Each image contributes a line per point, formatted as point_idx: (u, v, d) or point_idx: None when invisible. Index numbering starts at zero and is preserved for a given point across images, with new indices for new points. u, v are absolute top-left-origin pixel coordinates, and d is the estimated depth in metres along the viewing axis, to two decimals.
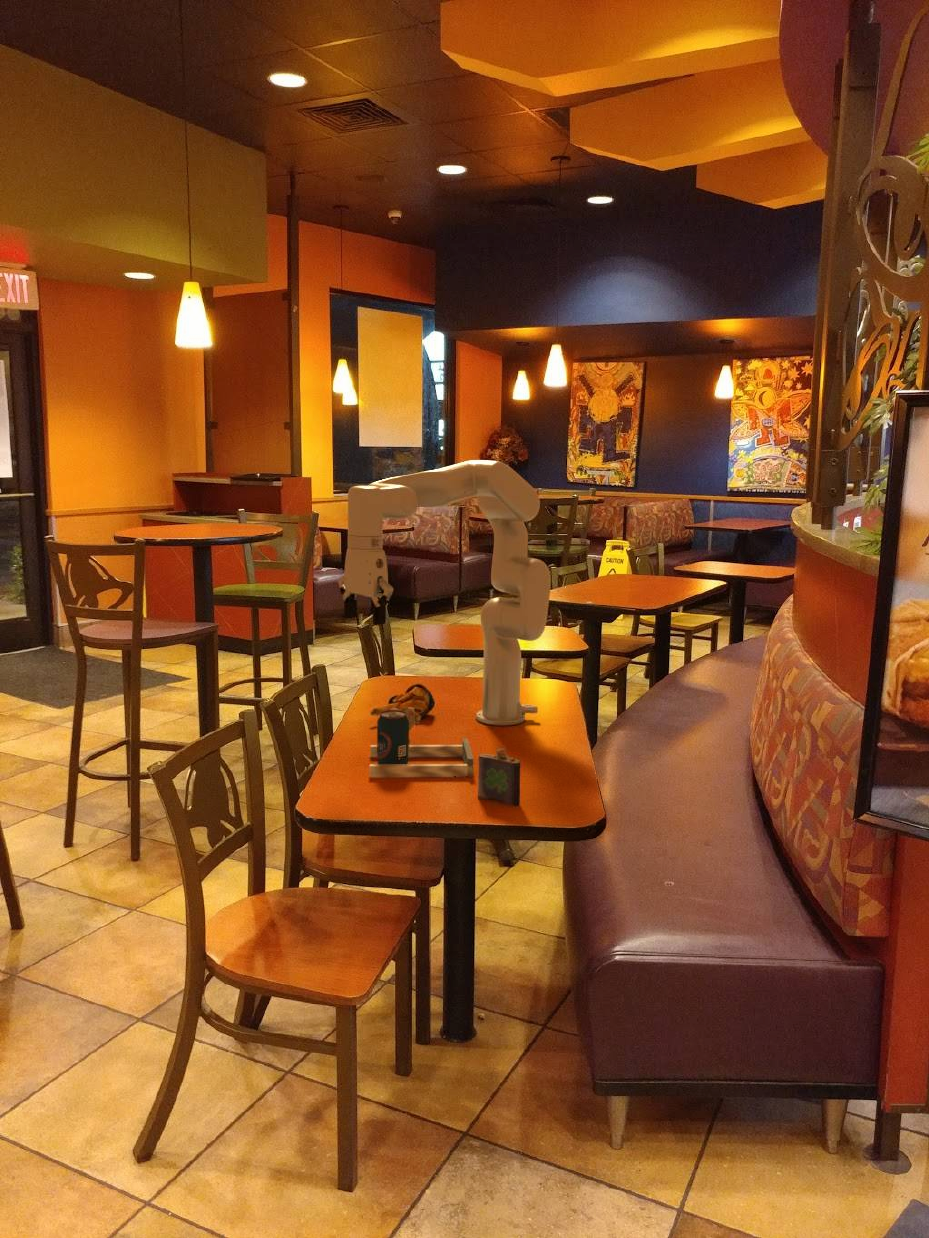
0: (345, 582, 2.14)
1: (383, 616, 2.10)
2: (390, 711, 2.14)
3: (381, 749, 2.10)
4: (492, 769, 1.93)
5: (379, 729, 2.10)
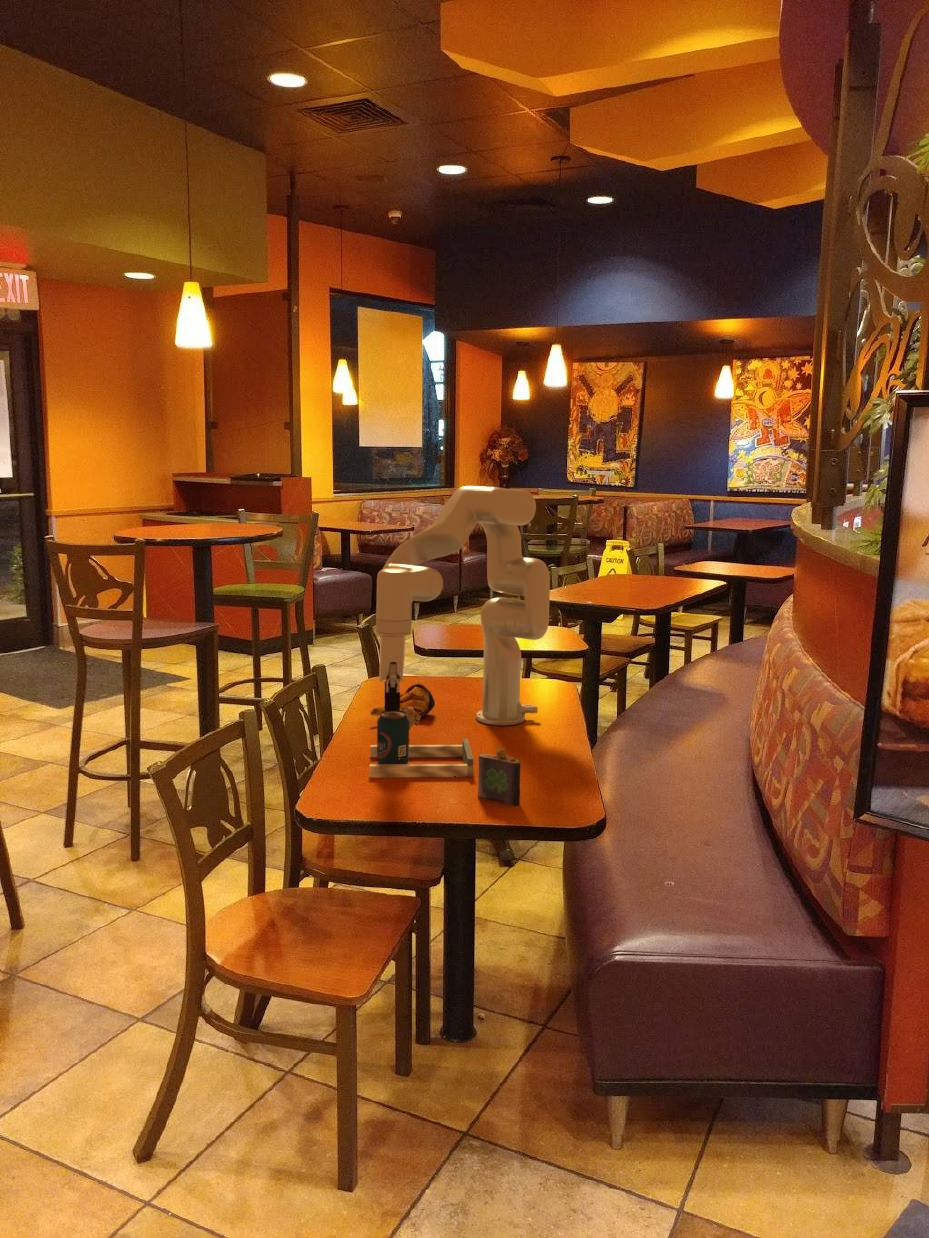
0: (402, 671, 2.05)
1: None
2: (390, 711, 2.14)
3: (381, 749, 2.10)
4: (492, 769, 1.93)
5: (379, 729, 2.10)
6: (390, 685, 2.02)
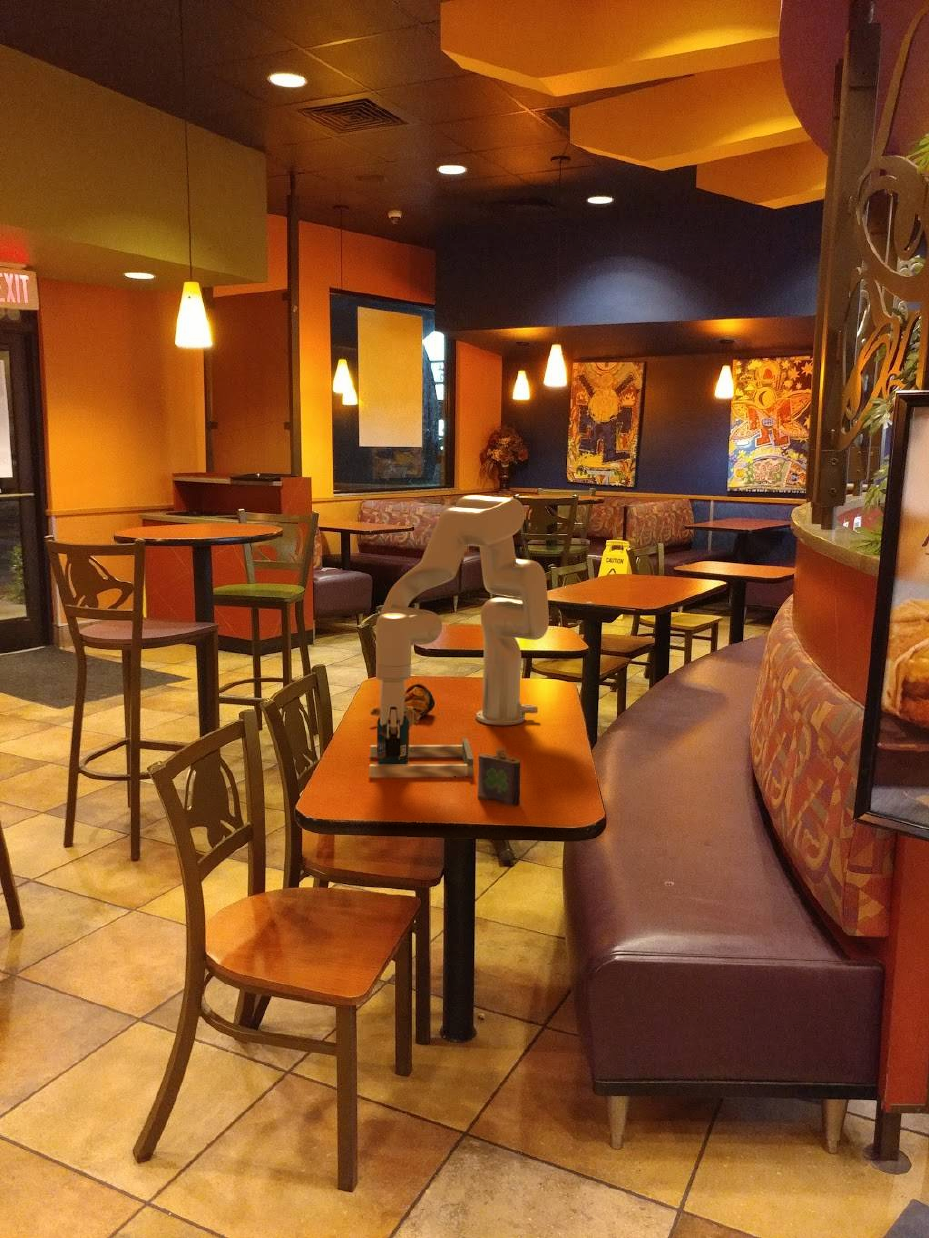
0: (403, 715, 2.07)
1: None
2: (390, 711, 2.14)
3: (381, 749, 2.10)
4: (492, 769, 1.93)
5: (379, 729, 2.10)
6: (391, 732, 2.05)
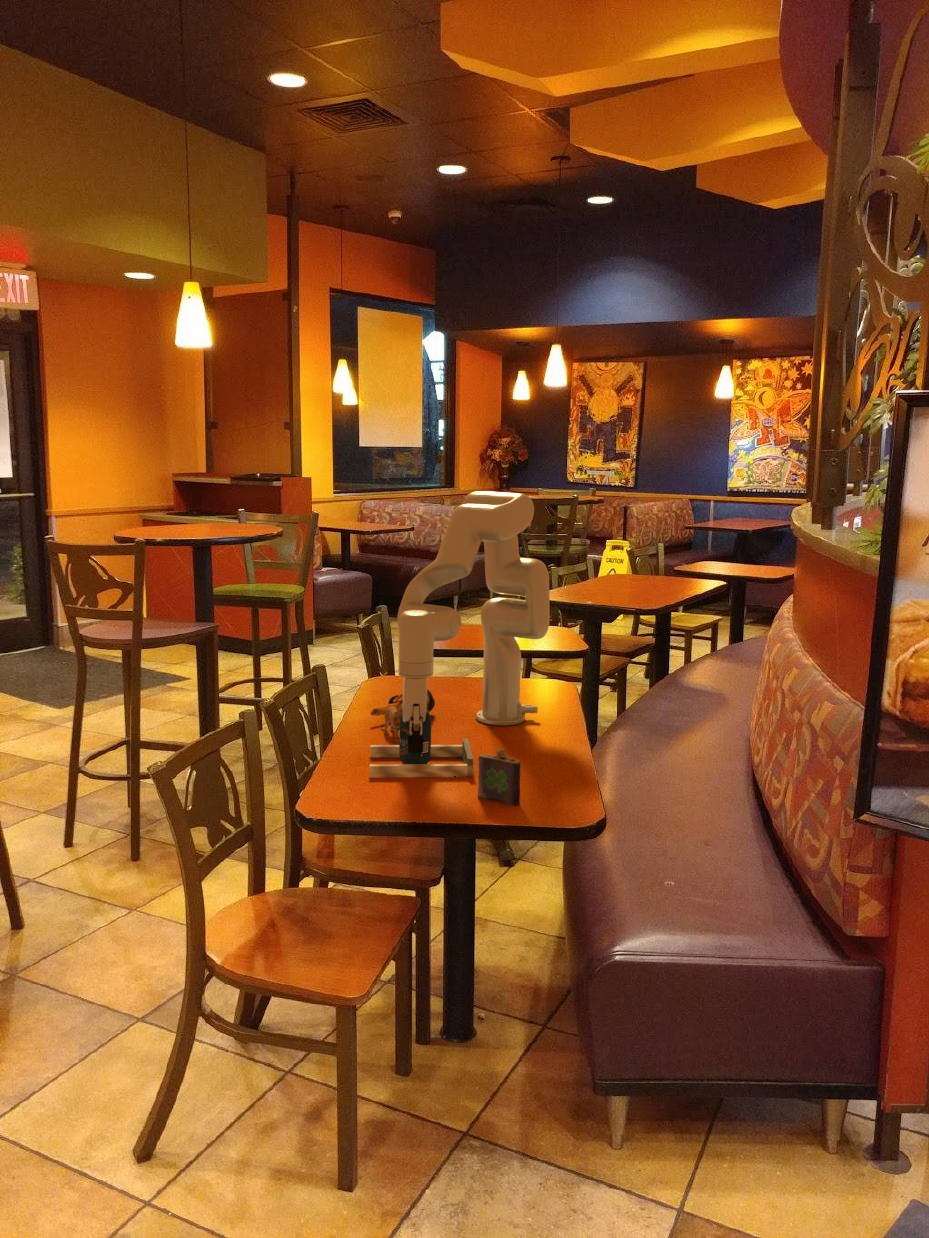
0: (425, 712, 2.08)
1: None
2: None
3: (403, 746, 2.11)
4: (492, 769, 1.93)
5: (402, 726, 2.10)
6: (413, 729, 2.06)
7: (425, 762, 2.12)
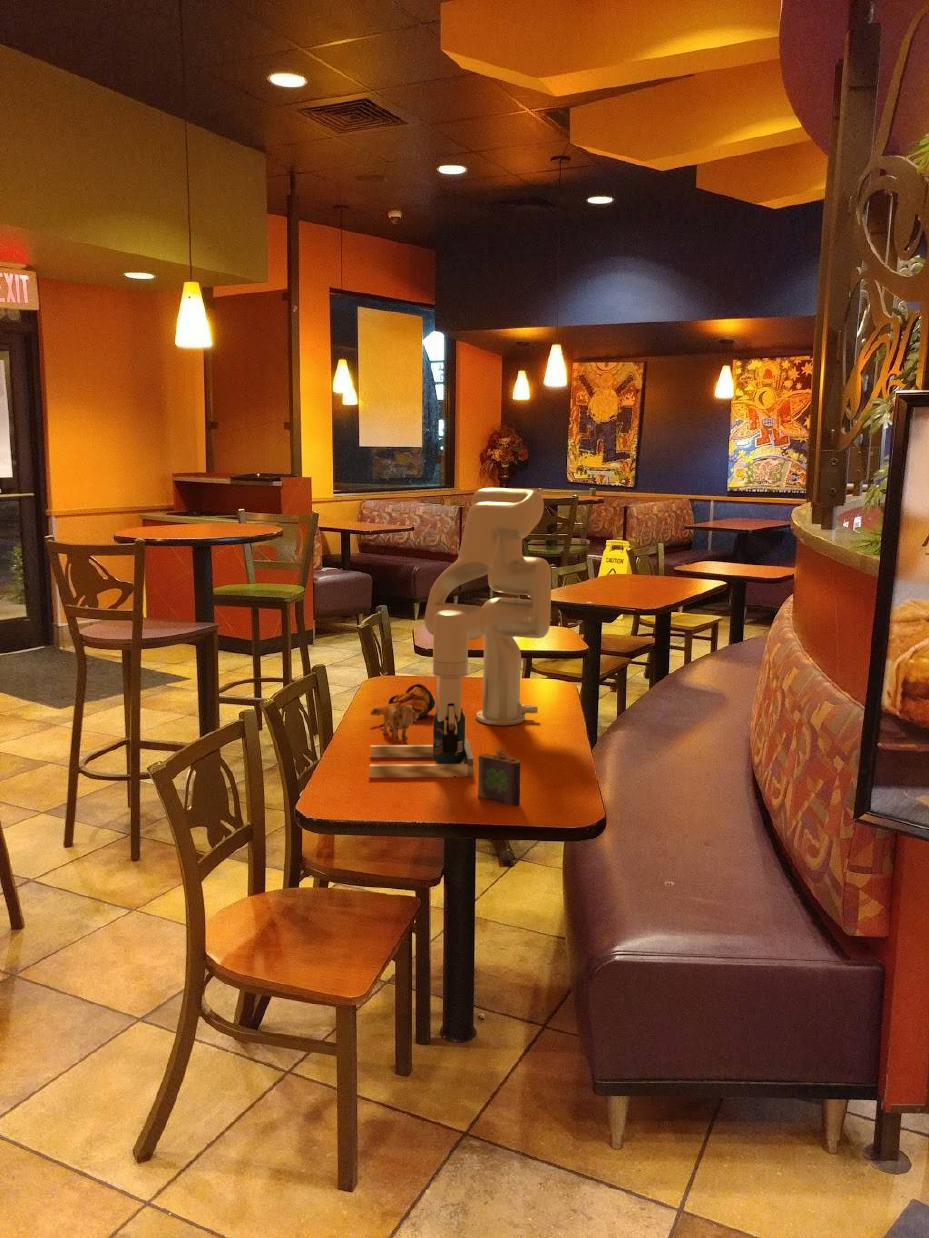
0: (460, 712, 2.08)
1: None
2: None
3: (438, 745, 2.11)
4: (492, 769, 1.93)
5: (436, 725, 2.11)
6: (448, 729, 2.06)
7: (459, 761, 2.12)
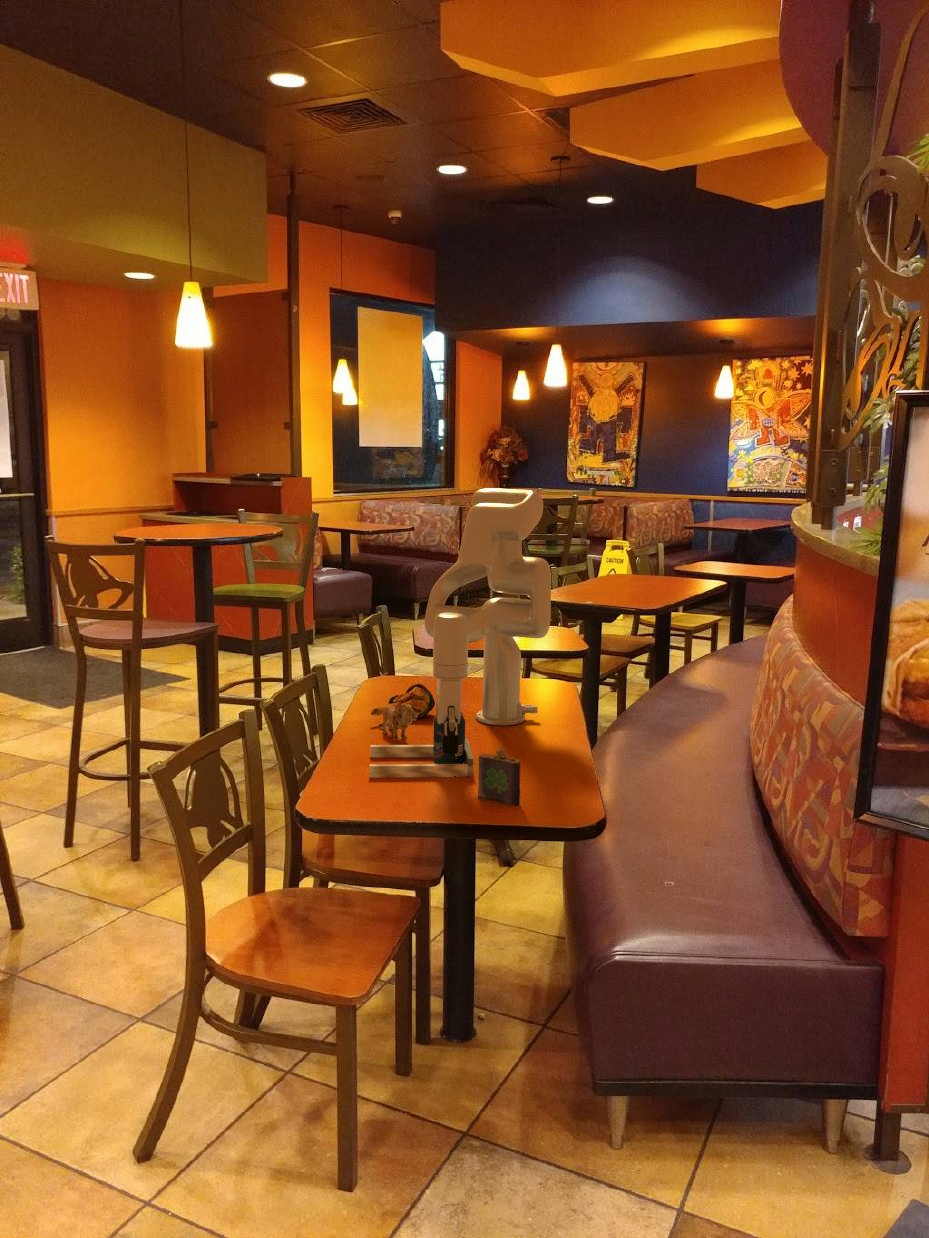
0: (460, 714, 2.08)
1: None
2: None
3: (438, 749, 2.11)
4: (492, 769, 1.93)
5: (436, 729, 2.11)
6: (449, 729, 2.05)
7: None
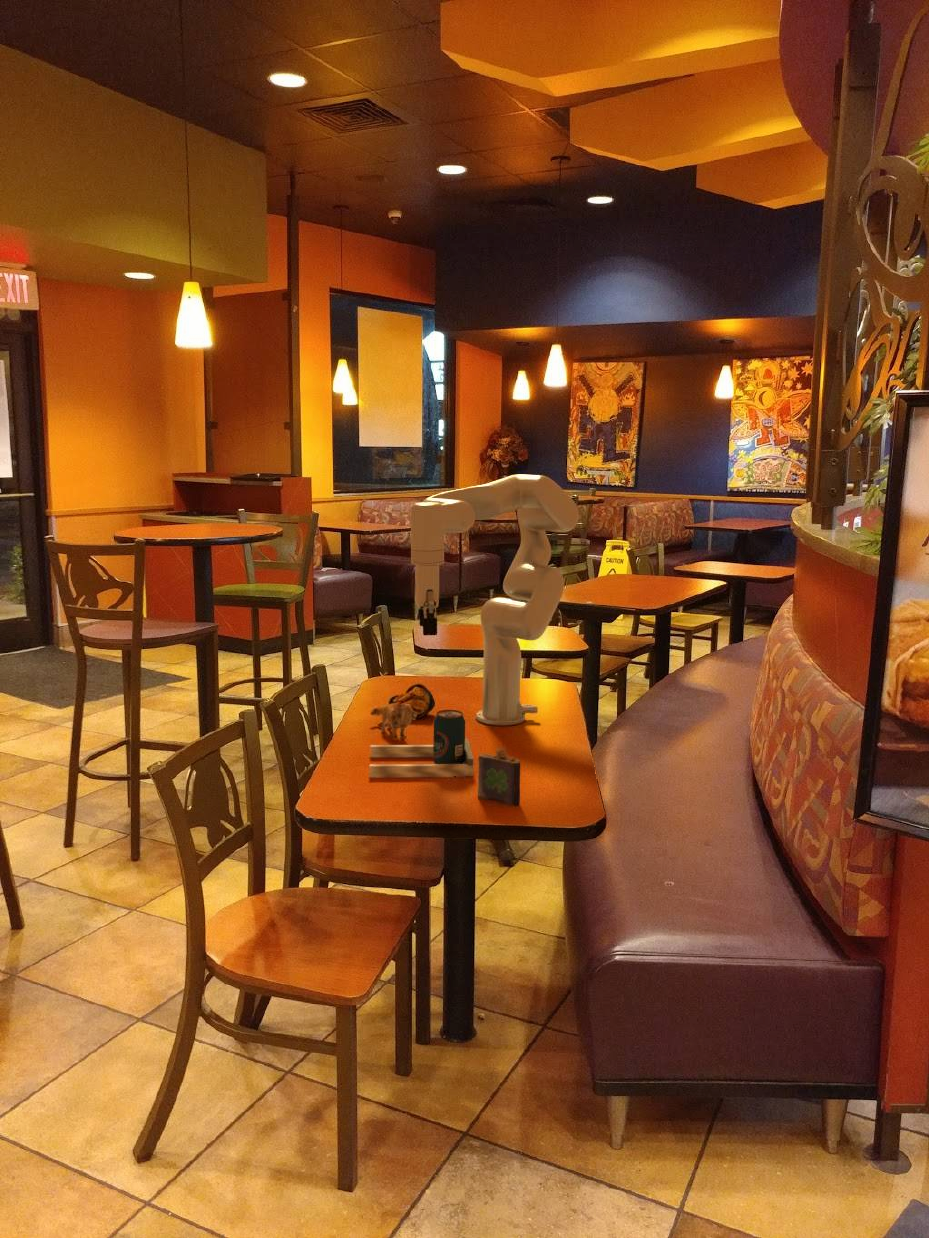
0: (438, 598, 2.20)
1: None
2: (446, 711, 2.15)
3: (438, 749, 2.11)
4: (492, 769, 1.93)
5: (436, 729, 2.11)
6: (428, 611, 2.16)
7: None
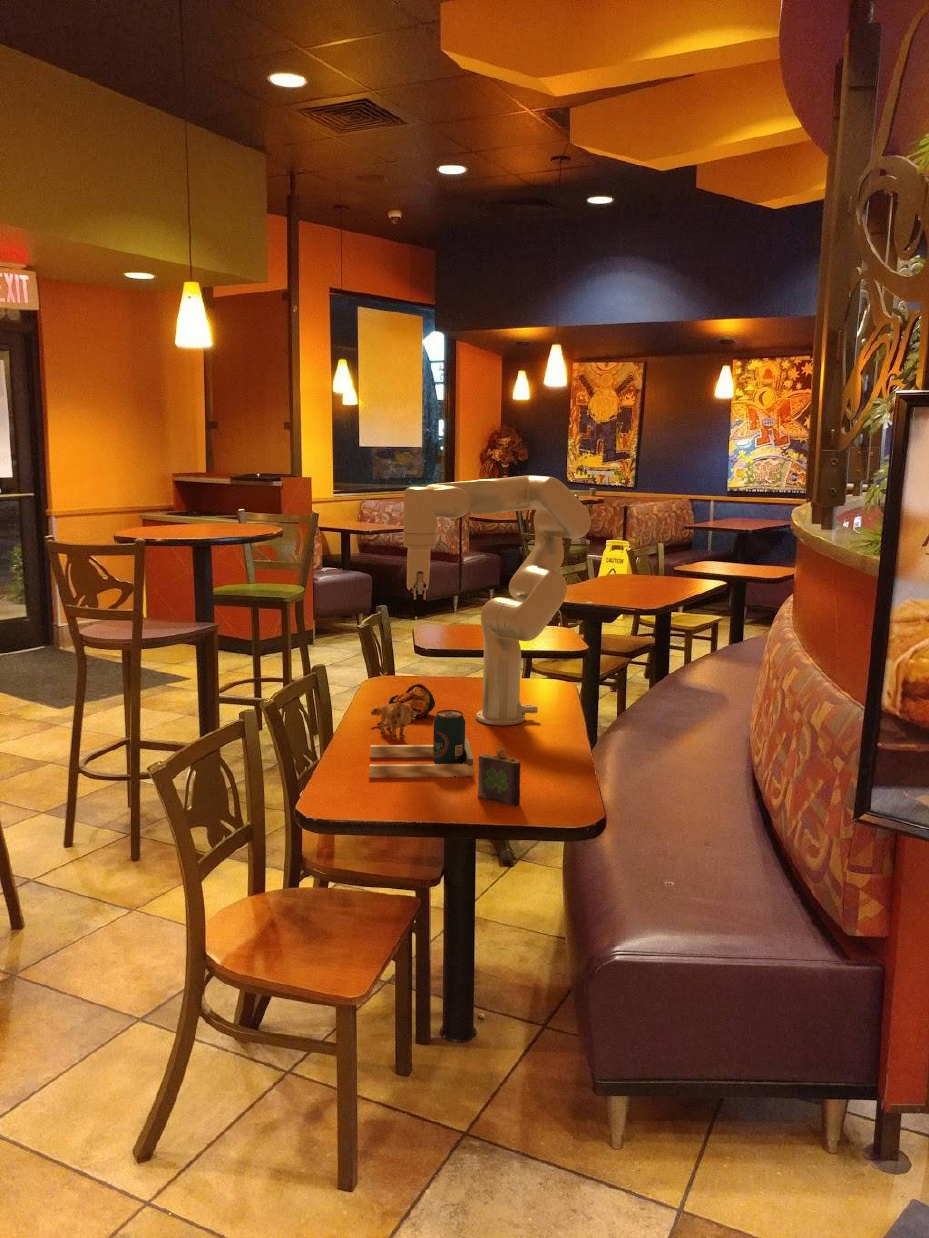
0: (428, 580, 2.25)
1: None
2: (446, 711, 2.15)
3: (438, 749, 2.11)
4: (492, 769, 1.93)
5: (436, 729, 2.11)
6: (417, 592, 2.21)
7: None
